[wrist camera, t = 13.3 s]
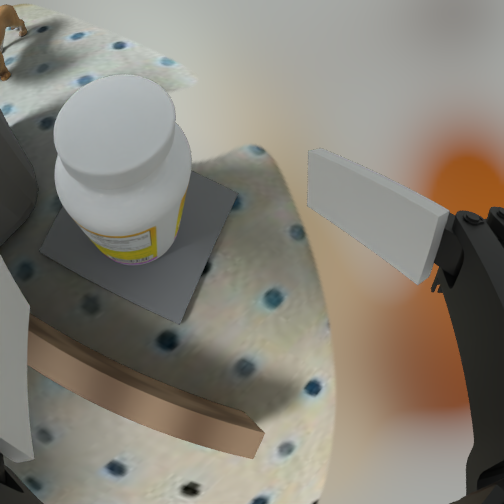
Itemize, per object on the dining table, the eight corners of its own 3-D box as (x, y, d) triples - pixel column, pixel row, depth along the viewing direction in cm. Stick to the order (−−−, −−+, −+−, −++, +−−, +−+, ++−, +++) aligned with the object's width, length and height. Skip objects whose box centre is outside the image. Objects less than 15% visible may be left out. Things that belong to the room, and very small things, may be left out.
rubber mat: (41, 253, 19) (38, 251, 19) (110, 137, 23) (109, 133, 22) (179, 324, 21) (179, 324, 21) (236, 196, 25) (238, 193, 24)
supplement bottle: (141, 165, 22) (140, 37, 10) (197, 225, 23) (241, 126, 11) (75, 220, 20) (6, 120, 8) (130, 287, 20) (90, 245, 8)
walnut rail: (2, 322, 17) (-31, 321, 12) (10, 299, 18) (-22, 293, 13) (234, 433, 21) (253, 459, 16) (243, 411, 21) (265, 433, 17)
